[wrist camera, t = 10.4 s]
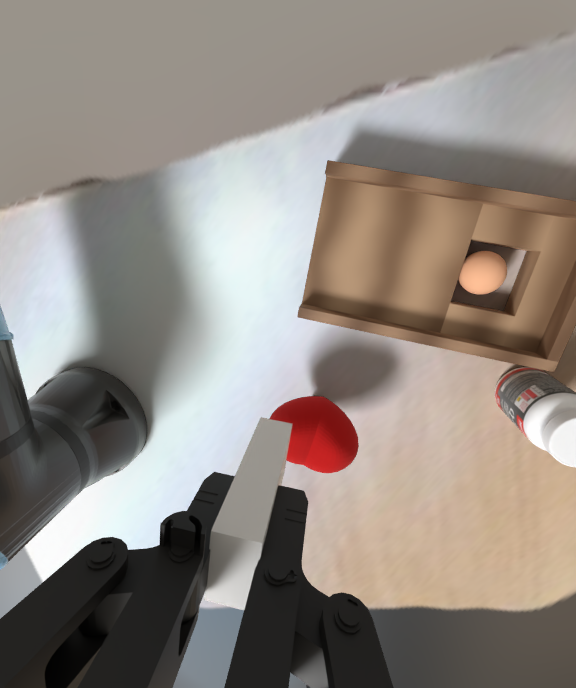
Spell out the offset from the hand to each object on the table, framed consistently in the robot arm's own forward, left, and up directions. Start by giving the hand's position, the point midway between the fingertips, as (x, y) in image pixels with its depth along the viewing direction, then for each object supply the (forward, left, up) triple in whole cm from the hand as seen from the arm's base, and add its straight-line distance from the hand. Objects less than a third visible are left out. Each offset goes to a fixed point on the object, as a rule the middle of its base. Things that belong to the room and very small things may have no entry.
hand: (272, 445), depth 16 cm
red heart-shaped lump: (+2, -9, -24) cm, 26 cm away
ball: (+15, +9, -23) cm, 29 cm away
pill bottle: (+23, -2, -24) cm, 33 cm away
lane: (+10, +9, -24) cm, 27 cm away
